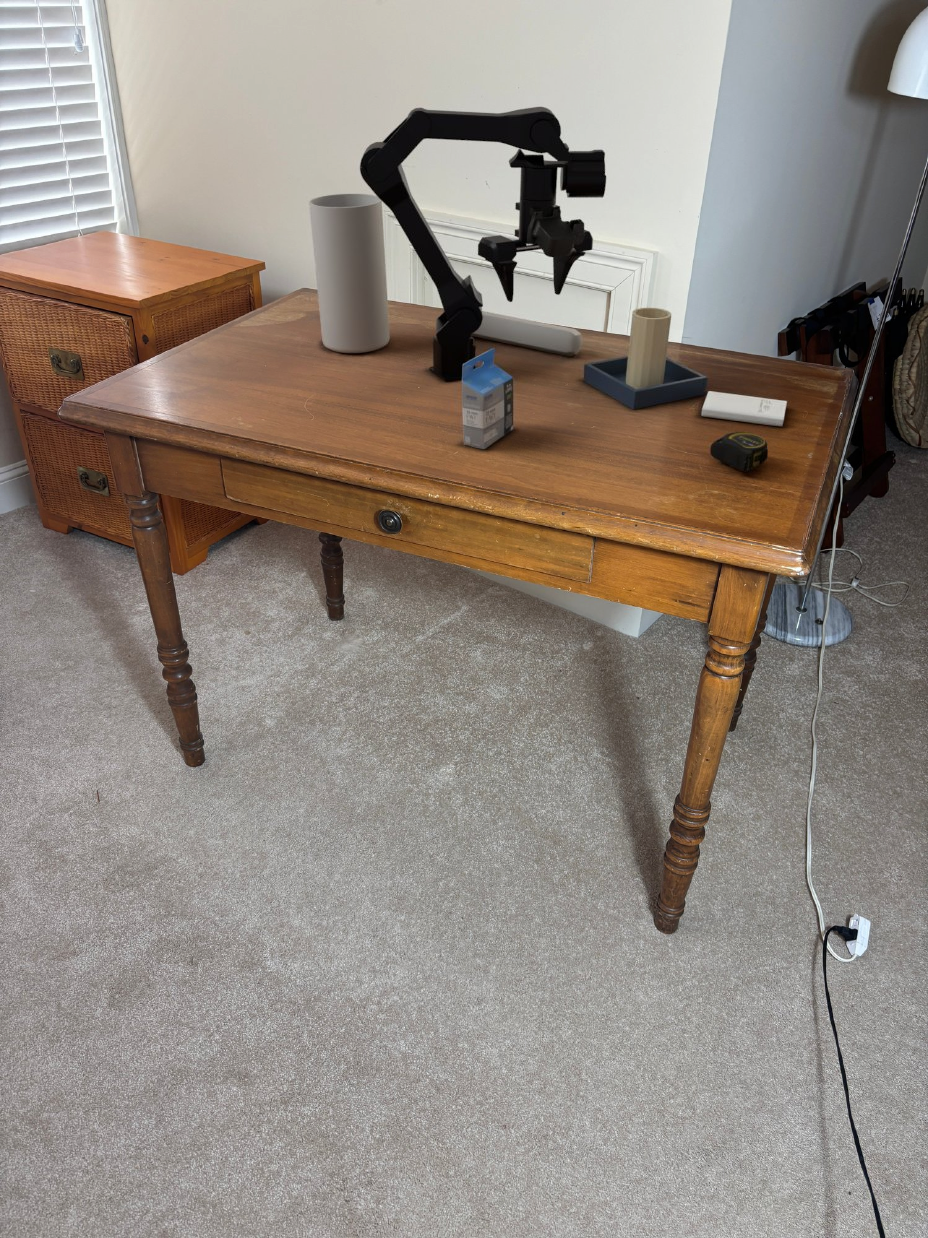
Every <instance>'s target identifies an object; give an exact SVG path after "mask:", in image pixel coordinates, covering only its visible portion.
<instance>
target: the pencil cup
mask: <svg viewBox="0 0 928 1238" xmlns="http://www.w3.org/2000/svg"><path fill="white" fill-rule="evenodd" d="M631 314H632V315H631V324H630V334H629V341H628V342H629V344H628V353H627V356H628V362H627V372H626V382H625V384H627V385H629V386H631V387H633V388H635V389H636V390H637V389H641V388H646V387H651V386H656V385H661V384H663V379H664V371H665V363H666V357H667V356H668V355H667V354H668V347H669V346H668V345H669V338H670V329H671V322H672V312H670V311H669V310H667V309H664V308H660V307H659V308H658V307H639V308H636V309H633V310H632V313H631Z"/></svg>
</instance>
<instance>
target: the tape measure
mask: <svg viewBox="0 0 928 1238" xmlns="http://www.w3.org/2000/svg"><path fill="white" fill-rule="evenodd" d="M768 449H769V448H768V443H767V440H766V439H765V438H764V437H762V436H760V435H758V434H755V433H751V432H746V431H736V432H735V431H734V432H729V433H726V434H724V435H723V436H721V437H720V438H718V439H716V440H714V441H713V442H712V443H711V444H710V448H709V453H710V454H709V455H711V457H712V458H714V459H715V460H717V461H719V462H722V463H723V464H726V465H728V466H730V467H731V468H735V469H737V470H739V471H742V472H744V473H747V472H749V471H750V470H752V469H757V468H759V467H761V466H762V465H763V464H764V462H765V461H766V460H767V459H768V455H769V451H768Z"/></svg>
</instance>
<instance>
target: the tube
mask: <svg viewBox="0 0 928 1238" xmlns="http://www.w3.org/2000/svg"><path fill="white" fill-rule="evenodd" d="M482 315H483V320H482V323H481V326H480V327H479V329H478V330H477V331H475V332H474V333H472V334H471V337H473V338H479V339H484V340H489V341H493V342H499V343H503V344H508V345H513V346H517V347H522V348H527V349H531V350H537V351H540V352H541V351H542V352H546V353H551V354H555V355H561V356H564V357H572V356H576V355H578V353H579V351H580V350H581V348H582V347H583V337H582V333H581V332H579V330H577V329H575V328H571V327H567V326H562V325H556V324H551V323H546V322H542V321H536V320H531V319H526V318H520V317H515V316H510V315H505V314H501V313H494V312H489V311H484V310H482Z"/></svg>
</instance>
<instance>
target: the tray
mask: <svg viewBox="0 0 928 1238" xmlns="http://www.w3.org/2000/svg"><path fill="white" fill-rule="evenodd" d="M627 362H628V355H626V356H620V357H615V358H610V359H604V360H598V361H593V362H587V363H584V366H583V379H582V381H583V382H584V383H586V384H588V385H590V386H592V387H593V388H595V389H596V390H599V391H600V392H602V393H604V394H605V395H607V396H609V397H610V398H613V399H614V400H616V401H618V402H619V403H621V404H623V405H625V406H627V407H628V408H630V409H632V410H638V409H643V408H647V407H651V406H652V407H653V406H658V405H662V404H666V403H672V402H676V401H681V400H686V399H690V398H696V397H700V396H706V394H707V393H706V391H707V385H708V376H706V375H704V374H702V373H700V372H698V371H696V370H694V369H691V368H690V367H687V366H686V365H683V364H682V363H679V362H677V361H676V360H674V359H671V358H669V357H667V356H666V363H665V371H664V379H663V384H661V385H656V386H651V387H646V388H641V389H637V390H636V389H635V388H633V387H631V386H629V385H627V384H625V382H626V372H627Z"/></svg>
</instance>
